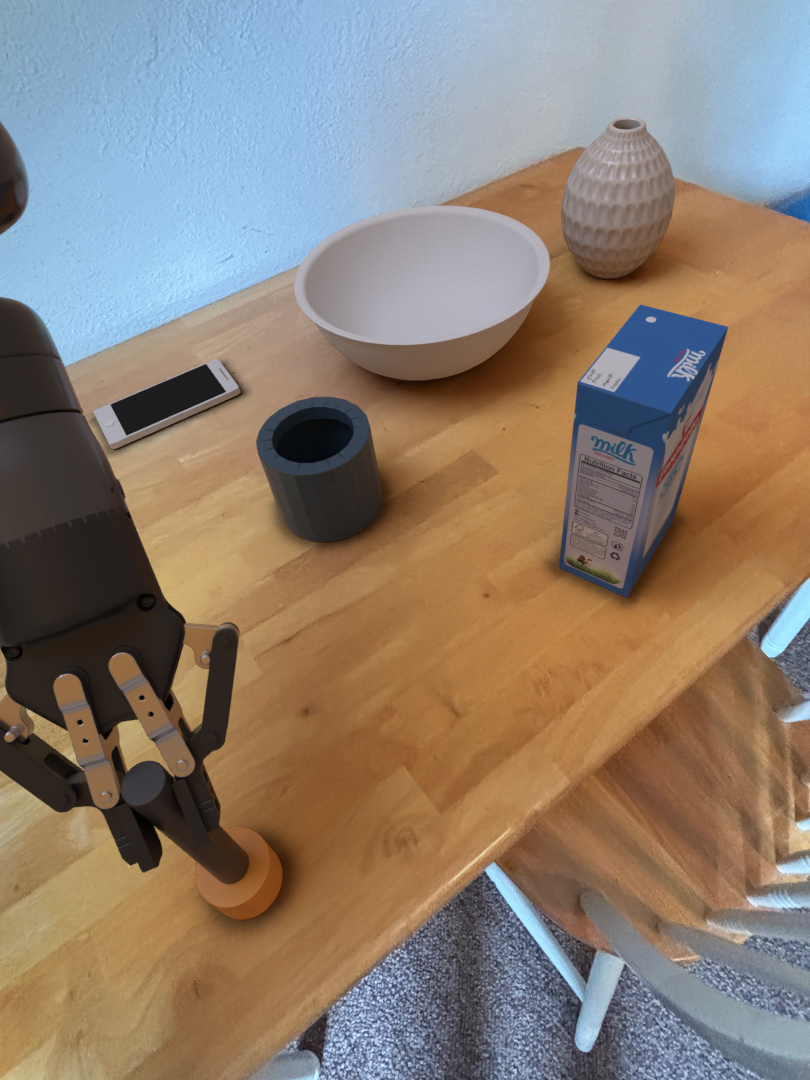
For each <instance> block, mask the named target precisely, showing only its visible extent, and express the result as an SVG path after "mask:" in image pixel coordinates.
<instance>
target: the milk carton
mask: <svg viewBox="0 0 810 1080" xmlns="http://www.w3.org/2000/svg"><path fill="white" fill-rule="evenodd" d="M728 329H729V326H727V325H723V324H720V323H715V322H711V321H708V320H703V319H700V318H695V317H691V316H688V315H684V314H680V313H676V312H671V311H669V310H664V309H661V308H657V307H652V306H649V305H644V304H639V305H638V306H637V308H636V309H635V310H634V311H633V312H632V314H631V315H630V316H629V318H627V320H626V321H625V322H624V324H622V326H621V328H620V329H618V331H617V332H616V333H615V335H614V336H613V337H612V339H610V341H609V343H608V344H607V345H606V346H605V348H604V349H603V350H602V351H601V352H600V354H599V355H598V356H597V357H596V358H595V360H594V361H593V363H592V364H591V365H590V366H589V367H588V369H586V371H585V372H584V374H583V375H582V376H581V377H580V379H579V380H577V383H576V384H577V385H576V394H575V405H574V414H573V423H572V432H571V433H572V434H571V436H572V437H571V444H570V453H569V462H568V463H569V465H568V472H567V473H568V474H567V481H566V492H565V494H566V495H565V502H564V503H565V504H564V512H563V513H564V514H563V524H562V533H561V544H560V552H559V562H558V569H561V570H563V571H565V572H568V573H570V574H572V575H574V576H576V577H579V578H581V579H583V580H584V581H585V580H586V581H587V582H590V583H591V584H594V585H597V586H599V587H602V588H603V589H606V590H608V591H610V592H612V593H615V594H617V595H619V596H622V597H624V598H626V599H628V598H629V596H630V594H632V591H633V589H634V587H635V586H636V584H637V582H638V581H639V579H640V578H641V576H642V574H643V572H644V570H645V569H646V567H647V566H648V564H649V562H650V561H651V559H652V558H653V556H654V554H655V552H656V550H657V549H658V547H659V546H660V544H661V542H662V540H663V539H664V537H665V536H666V533H667V532H668V530H669V528H670V527H671V525H672V524H673V522H674V521H675V517H676V513H677V510H678V506H679V502H680V499H681V495H682V492H683V488H684V484H685V481H686V478H687V474H688V472H689V471H688V470H689V468H690V464H691V460H692V457H693V453H694V450H695V446H696V442H697V439H698V437H699V432H700V429H701V425H702V421H703V418H704V415H705V411H706V407H707V403H708V400H709V397H710V393H711V390H712V386H713V384H714V383H713V382H714V379H715V377H716V372H717V369H718V365H719V362H720V358H721V354H722V352H723V347H724V344H725V340H726V337H727V332H728Z"/></svg>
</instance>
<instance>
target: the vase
mask: <svg viewBox="0 0 810 1080" xmlns="http://www.w3.org/2000/svg"><path fill="white" fill-rule="evenodd" d="M675 194H676V186H675V179H674V174H673V170H672V166H671V163H670V160H669V157H668V155H667V154H666V152H665V151H664V148H663V147H662V146H661V144H660V143H659V142H658V140H657V139H656V138H655V137H654V136H653V135H652V134H651V133H650V131H648V129H647V123H646V122H645V121H644V120H643V119H641V118H638V117H632V116H631V117H630V116H626V117H625V116H623V117H618V118H615V119H613V120H611V121H610V122H609V123H608V124H607V126H606V128H605V131H604V132H602V134H600V135H599V136H598V137H597V138H595V139H594V140H593V141H592V142H591V143H590V144H589V145H588V146H587V147H586V148H585V150H584V151H583V152H582V153H581V154H580V155H579V157H578V158H577V160H576V162H575V164H574V165H573V167H572V169H571V171H570V172H569V175H568V177H567V180H566V184H565V186H564V189H563V194H562V198H561V209H560V223H561V224H560V226H561V230H562V235H563V239H564V242H565V244H566V247H567V248H568V252H570V254H571V256H572V258H573V259H574V261H575V262H576V263H577V264H578V265H579V266H580V267H581V268H582V269H583V270H584V271H585V272H586V273H587V274H588V275H591V276H593V277H596V278H597V279H602V280H603V279H605V280H614V279H620V278H623V277H626V276H629V274H631V273H633V272H634V271H636V270H637V269H638V268H640V267H641V266H642V265H644V263H646V261H647V260H648V259H649V258H650V257H651V256H652V255H653V254H654V253H655V251H657V248H659V246H660V244H661V243H662V242H663V240H664V238H665V235H666V234H667V231H668V229H669V226H670V223H671V220H672V218H673V217H672V216H673V211H674V204H675V198H676V197H675V196H676V195H675Z"/></svg>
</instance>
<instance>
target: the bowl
mask: <svg viewBox="0 0 810 1080" xmlns="http://www.w3.org/2000/svg"><path fill="white" fill-rule="evenodd" d="M550 269H551V259H550V254H549V251H548V248H547V247H546V244H545V243H544V241H543V240H542V238H541V237H540V236H539V235H538V234H536V232H535V231H533V230H532V228H529V226H527V225H525V224H524V223H522V222H520V221H519V220H517V219H514V218H512V217H510V216H507V215H505V214H501V213H498V212H496V211H491V210H487V209H483V208H477V207H470V206H461V205H425V206H423V205H422V206H414V207H406V208H402V209H401V208H400V209H395V210H391V211H387V212H383V213H382V212H381V213H379V214H375V215H372V216H370V217H366V218H363V219H361V220H358V221H356V222H353V223H351V224H349V225H347V226H345V227H342V228H341V229H339V230H337V231H335V232H334V233H332V234H331V235H329V236H327V237H326V238H324V239H322V241H320V242H319V243H318V244H317V245H316V246H315V247H313V248H312V249H311V250H310V251H309V253H308V254H307V255H306V256H305V257H304V258H303V260H302V261H301V263H300V265H299V267H298V268H297V271H296V274H295V277H294V281H293V293H294V297H295V299H296V303H297V304H298V307H299V308H300V310H301V311H302V312H303V313H304V315H305V316H306V317H307V318H308V319H309V320H310V321H312V322H313V323H314V324H315V325H314V326H316V327H317V329H318V330H319V332H320V333H321V334H322V336H323V337H324V338H325V339H326V340H327V341H328V343H329V344H330V345H332V346H333V348H335V350H337V351H338V352H339V353H340V354H341V355H343V357H345V358H346V359H348V360H349V361H350V362H352V363H354V364H355V365H356V366H357V365H358V366H359V367H360V368H362V369H365V370H367V371H369V372H372V373H374V374H376V375H380V376H383V377H387V378H391V379H396V380H403V381H430V380H432V381H433V380H437V379H443V378H448V377H452V376H454V375H455V376H456V375H458V374H461V373H464V372H467V371H468V370H471V369H472V368H474V367H477V366H478V365H479V366H480V364H482V363H484V362H485V361H487V360H488V359H489V358H491V357H492V356H494V355H496V353H497V352H498V351H500V350H501V349H502V348H503V347H504V346H505V345H506V344H507V343H508V342H509V341H510V340H511V339H512V338H513V336H514V335H515V334H516V333H517V332H518V330H519V329H520V327H521V326H522V324H523V323H524V321H525V319H526V318H527V316H528V315H529V313H530V311H531V309H532V306H533V304H534V303H535V300H536V298H537V296H538V295H540V292H541V291H542V289H543V288H544V286H545V284H546V282H547V281H548V278H549V274H550Z"/></svg>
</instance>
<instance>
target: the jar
mask: <svg viewBox="0 0 810 1080" xmlns="http://www.w3.org/2000/svg"><path fill="white" fill-rule="evenodd" d="M255 444H256V445H255V446H256V451H257V455H258V458H259V460H260V463H261V466H262V469H263V471H264V474H265V477H266V480H267V482H268V485H269V488H270V490H271V494H272V497H273V499H274V501H275V504H276V507H277V509H278V513H279V515H280V517H281V518H282V521H283V523H284V525H285V526H286V528H287V529H288V530H289V531H290V532H292V534H294V535H296V536H297V537H299V538H301V539H303V540H306V541H309V542H315V543H332V542H338V541H343V540H346V539H348V538H351V537H353V536H355V535H357V534H359V533H361V532H362V531H364V530H365V529H366V528H367V527H369V526H370V525H371V524H372V523H373V522H374V521H375V519H376V518H377V516H378V515H379V513H380V511H381V508H382V505H383V497H384V496H383V487H382V482H381V481H382V480H381V475H380V471H379V466H378V461H377V460H378V459H377V455H376V451H375V450H376V449H375V445H374V439H373V434H372V429H371V424H370V421H369V419H368V416H367V414H366V413H365V412H364V411H363V410H362V409H361V408H360V406H359V405H358V404H356V403H353V402H351V401H349V400H347V399H344V398H340V397H335V396H312V397H311V396H310V397H307V398H303V399H299V400H296V401H293V402H291V403H289V404H287V405H285V406H283V407H281V408H279V409H278V410H276V412H274V413H273V414H271V415H270V416H269V417H268V418H267V419H266V420H265V421H264V423H263V424H262V425H261V427H260V428H259V430H258V433H257V436H256V441H255Z"/></svg>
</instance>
